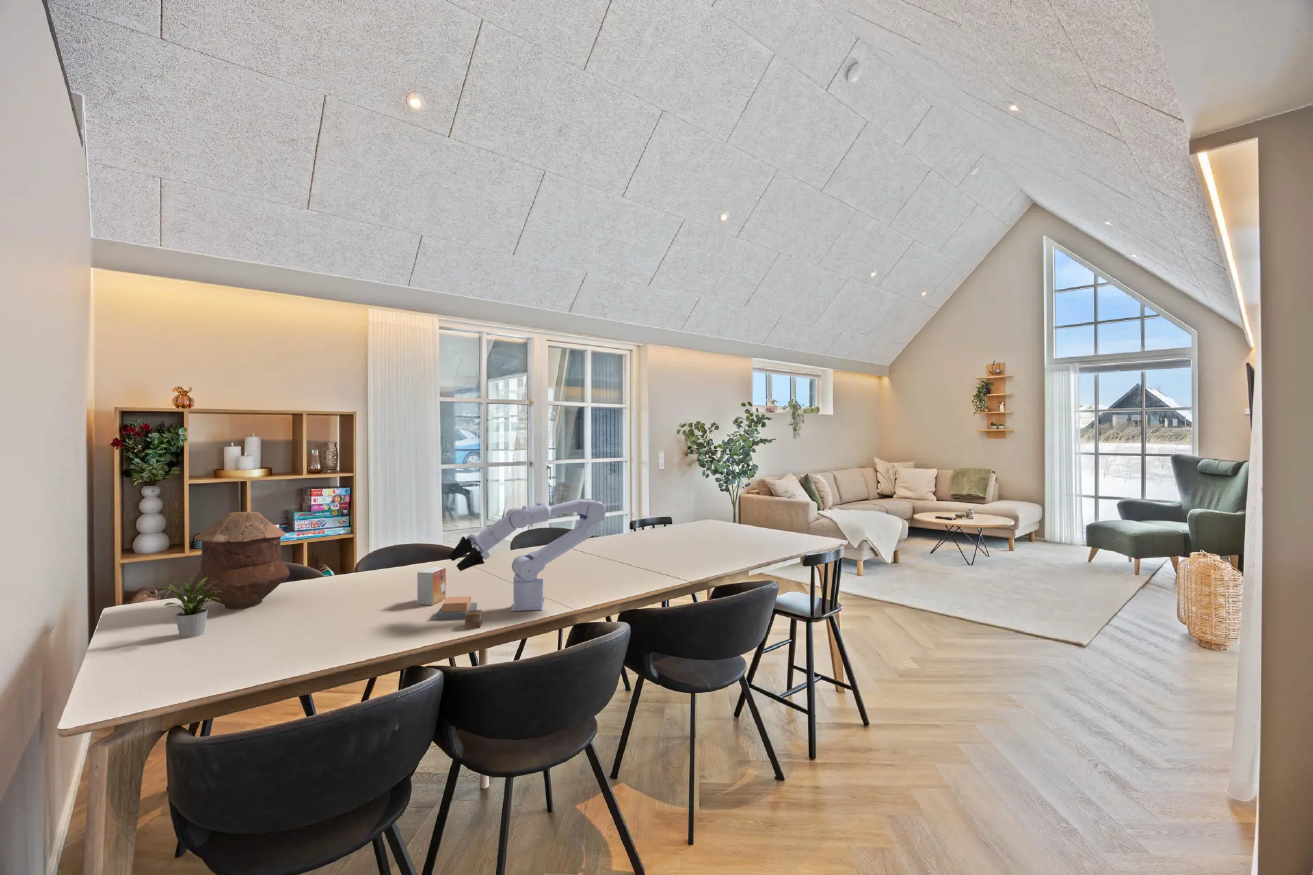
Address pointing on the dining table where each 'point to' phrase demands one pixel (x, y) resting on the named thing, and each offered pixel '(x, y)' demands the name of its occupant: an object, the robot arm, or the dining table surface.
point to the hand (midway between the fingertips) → (454, 563)
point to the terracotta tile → (457, 604)
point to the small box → (431, 585)
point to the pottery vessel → (241, 559)
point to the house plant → (192, 609)
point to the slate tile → (454, 613)
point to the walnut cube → (473, 619)
